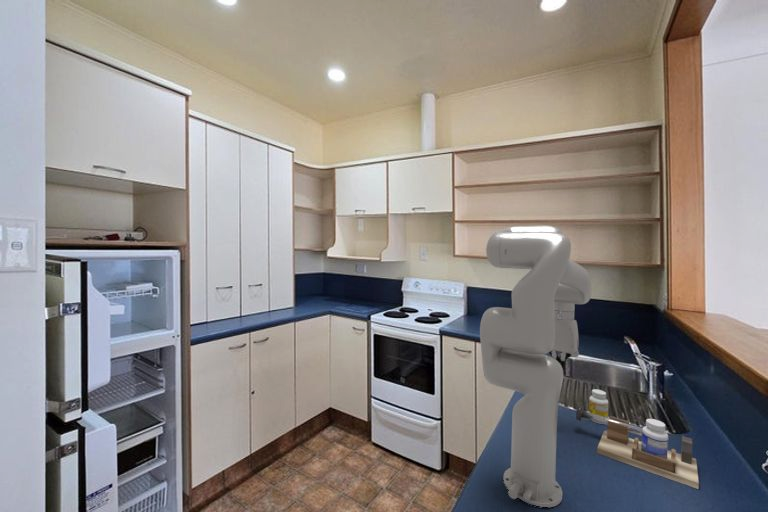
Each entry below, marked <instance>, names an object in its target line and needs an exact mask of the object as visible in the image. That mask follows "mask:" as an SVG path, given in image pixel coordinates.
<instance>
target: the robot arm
mask: <svg viewBox="0 0 768 512" xmlns="http://www.w3.org/2000/svg"><path fill="white" fill-rule="evenodd" d="M485 249H486V250H485V253H486V258H487V260H488V262H489V264H490V265H491V266H493V267H495V268H499V269H513V270H516V269H517V270H529V272H527V273H526V274H524V276H523V277H521V279H519V280H518V282H517V283H516V284H515V286H514V287H513V288H512V289H511V307H503V306H501V307H500V306H493V307H489V308H487V309H486V310H485V311H484V313H483V314H482V317H481V320H480V325H479V339H480V351H481V361H482V372H483V376H484V379H485V380H486V382H488V383H489V384H490V385H493V386H496V387H500V388H503V389H505V390H511V391H515V392H517V393H521V394H523V395H524V396H522V397H521V398H520V399H519V400H517V401H516V402H515V404H514V406H513V409H512V415H511V422H512V423H511V449H510V450H511V452H510V467H509V468H507V469H506V470H504V473H503V478H502V479H503V480H504V481H503V480H502V481H503V485H504V484H505V485H504V487H505V486H506V487H507V488H506V487H505V488H506V490H507V489H508V490H509V491H508V490H507V494H508V496H509V497H510V498H511V499H513V500H516V499H517V497H518V498H520V499H522V500H524V501H526V502H528V503H531V504H534V505H536V506H540V507H539V508H542V507H548V508H552V507H553V508H554V507H556V506H559V504H560V503H561V502H562V501H563V489H562V486H561V485H560V484H559V482H558V481H557V480H556V464H557V463H556V462H557V438H558V437H557V434H558V433H557V432H558V431H557V428H558V413H559V412H558V410H559V402H560V395H561V391H562V387H563V380H564V371H565V370H566V360H567V359H569V358H577V357H579V356H580V353H579V344H580V343H579V341H580V339H579V329H578V327H579V326H578V322H577V320H576V319H575V309H576V308H575V305H585V304H587V303H589V301H590V300H591V296H592V283H591V276H590V274H589V272H588V271H587V269H585V268H584V267H583V266H582V265H580V264H579V263H577V261H576V262H575V261H574V260H572V259H571V257H570V256H571V250H572V244H571V240H570V238H569V237H568V236H567V235H566V234H564V233H563V232H562V230H561V229H560V228H558V227H556V226H553V225H540V224H539V225H515V226H509V227H505V228H503V229H501V230H497V231H495V232H494V233H492V234H491V236H490V237H489V238H488V241H487V242H486V248H485ZM559 352H560V353H561V354H560V355H561V356H559ZM547 354H549V355H547ZM536 506H535V507H536Z"/></svg>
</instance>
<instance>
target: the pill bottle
mask: <svg viewBox="0 0 768 512" xmlns="http://www.w3.org/2000/svg"><path fill="white" fill-rule="evenodd" d="M641 428H642V436H641V442H642V444H641V451H643V452H646V453H650V454H653V455H656V456H659V457H662V458H665V459H667V451H668V450H669V449H668V447H669V435H668V433H667V432H666V424H665V423H664V422H663V421H661V420H658V419H654V418H647V419H646V420H645V426H643V427H641Z"/></svg>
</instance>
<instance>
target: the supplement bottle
mask: <svg viewBox="0 0 768 512" xmlns="http://www.w3.org/2000/svg"><path fill="white" fill-rule="evenodd" d="M588 402H589V403H588V412H589V413H592V414H596V415H599V416H602V417H606V418H609V400H608V399H607V392H605V391H603V390H601V389H598V388H597V389H595V388H594V389H592V390H591V395H590V396H589V398H588ZM592 422H594V423H596V424H598V425H599V424H600V425H603V424H602V423H598V422H595V421H592Z"/></svg>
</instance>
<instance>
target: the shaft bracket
mask: <svg viewBox="0 0 768 512" xmlns="http://www.w3.org/2000/svg"><path fill="white" fill-rule="evenodd" d="M608 418H609V419H613V420H616V421H620V422H623V423H626V424H630V421H629V420H625V419H622V418H618V417H617V416H613V415H609V416H608ZM606 426H607V430H604V431H603V433H602V436H601V438H600V440H599V443H598V445H597V448H596V450H597V451H596V453H597V455H600V456H601V455H602V456H604V457H606V458H610V459H612V460H615V461H618V462H620V463H624V464H626V465H629V466H633V467H635V468H637V469H640V470H643V471H646V472H649V473H651V474H654V475H657V476H660V477H663V478H664V479H665V478H666V479H669V480H671V481H674V482H677V483H680V484H682V485H685V486H688V487H691V488H694V489H697V490H699V484H700V482H699V474H698V465H697V464H698V463H697V459H696V458H695V457H694V458H693V439H692V438H690V437H687V436H684V435H682V436H681V445H680V446H681V450H680V451H681V452H680V453H678V452H677V451H676V449H674V448H671V450H669V449H668V451H667V459H665V458H662V457H659V456H656V455H653V454H650V453H646V452H643V451H641V444H642V441H640V440H639V437H634V439H633V438H630V437H629V433H630V432H628V426H626V425H623V424H619V423H616V422H612V421H609V420H608V425H606Z"/></svg>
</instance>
